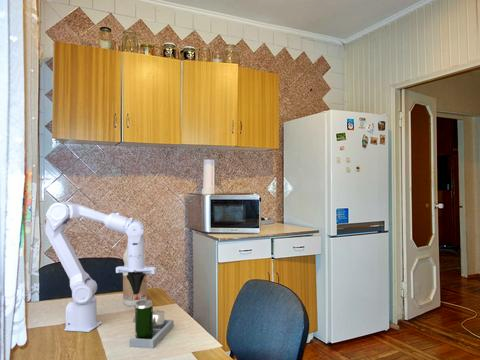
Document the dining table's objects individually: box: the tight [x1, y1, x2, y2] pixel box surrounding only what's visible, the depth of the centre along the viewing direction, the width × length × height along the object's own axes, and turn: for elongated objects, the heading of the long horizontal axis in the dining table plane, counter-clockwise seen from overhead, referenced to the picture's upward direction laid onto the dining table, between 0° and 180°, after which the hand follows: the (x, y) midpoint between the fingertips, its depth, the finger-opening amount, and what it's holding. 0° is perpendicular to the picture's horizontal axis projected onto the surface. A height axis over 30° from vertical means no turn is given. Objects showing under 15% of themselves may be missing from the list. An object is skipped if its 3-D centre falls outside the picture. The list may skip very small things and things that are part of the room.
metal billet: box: [153, 309, 165, 329], centre depth 122 cm, size 5×5×6 cm
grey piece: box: [129, 319, 174, 349], centre depth 118 cm, size 8×17×2 cm, turn 170°
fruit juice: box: [122, 247, 148, 307], centre depth 152 cm, size 9×9×28 cm
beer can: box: [134, 299, 154, 339], centre depth 114 cm, size 5×5×12 cm
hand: (136, 293), depth 129 cm, fingers closed
